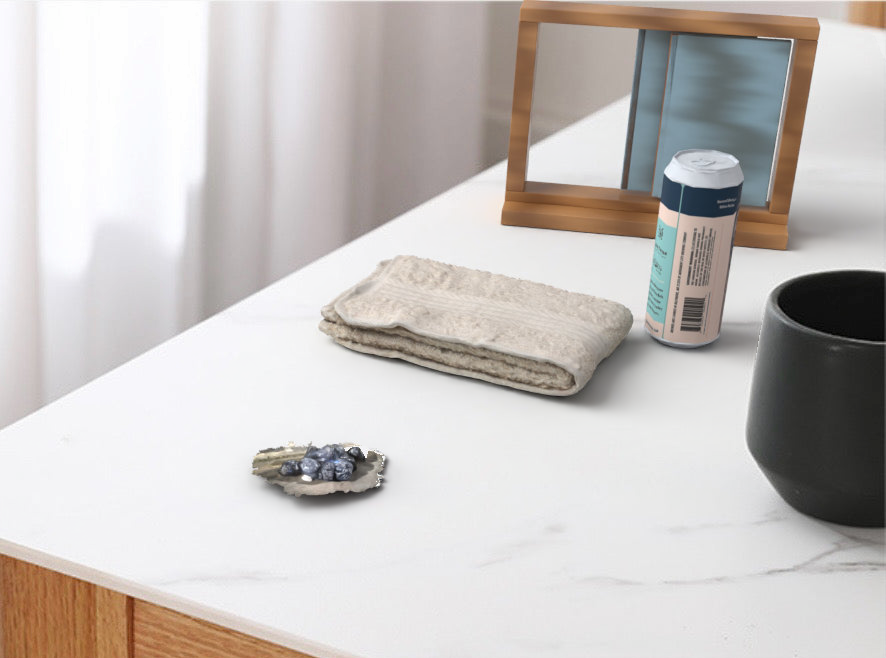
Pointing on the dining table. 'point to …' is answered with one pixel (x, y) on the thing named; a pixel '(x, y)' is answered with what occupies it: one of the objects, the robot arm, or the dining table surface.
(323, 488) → the blueberries
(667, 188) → the beer can
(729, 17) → the window frame
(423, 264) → the washcloth
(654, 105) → the window sash
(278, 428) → the dining table surface
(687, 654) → the dining table surface
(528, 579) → the dining table surface
